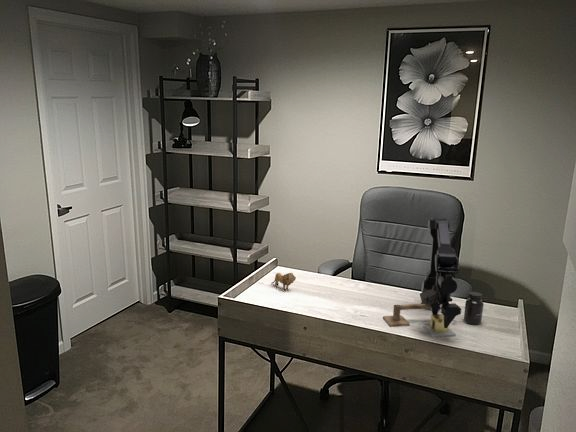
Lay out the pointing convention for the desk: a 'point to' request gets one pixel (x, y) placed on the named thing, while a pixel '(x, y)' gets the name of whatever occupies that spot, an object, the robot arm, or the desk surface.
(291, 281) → the lion figurine
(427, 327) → the slate mat
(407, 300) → the desk surface
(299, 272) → the desk surface
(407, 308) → the walnut stand
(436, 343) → the desk surface
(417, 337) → the desk surface
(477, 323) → the supplement bottle
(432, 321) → the slotted brass block
